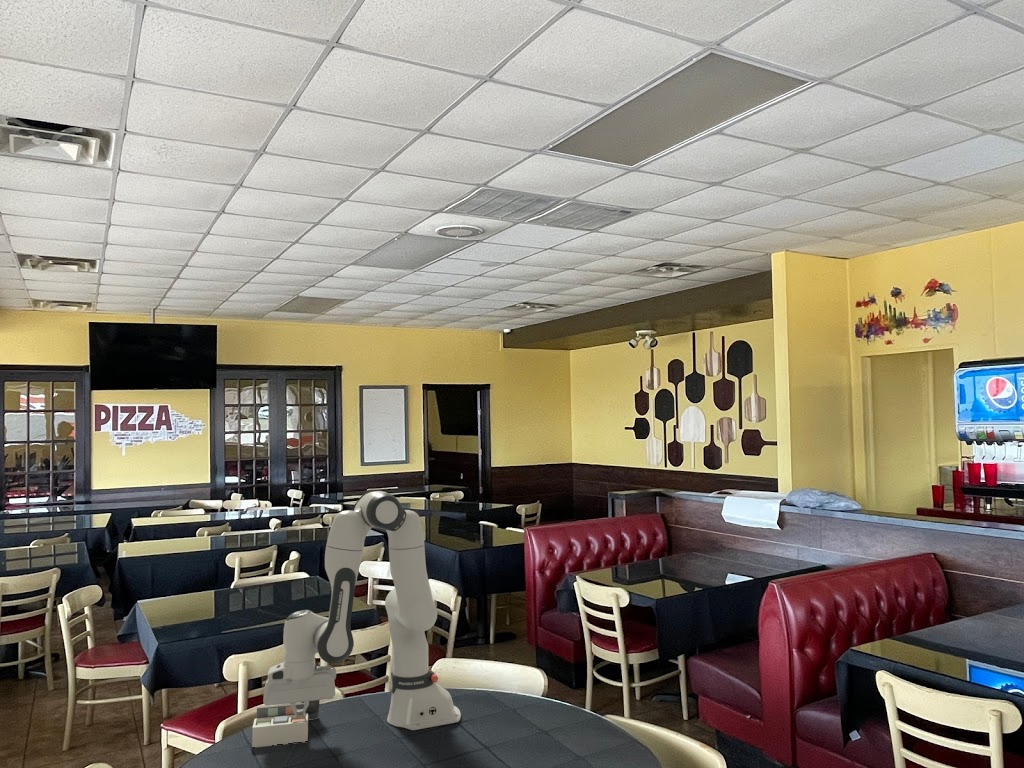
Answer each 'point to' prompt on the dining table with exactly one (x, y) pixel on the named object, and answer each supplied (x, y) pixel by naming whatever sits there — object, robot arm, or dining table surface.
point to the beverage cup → (312, 709)
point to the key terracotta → (298, 720)
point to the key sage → (263, 723)
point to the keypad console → (279, 726)
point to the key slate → (281, 719)
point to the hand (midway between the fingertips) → (300, 716)
